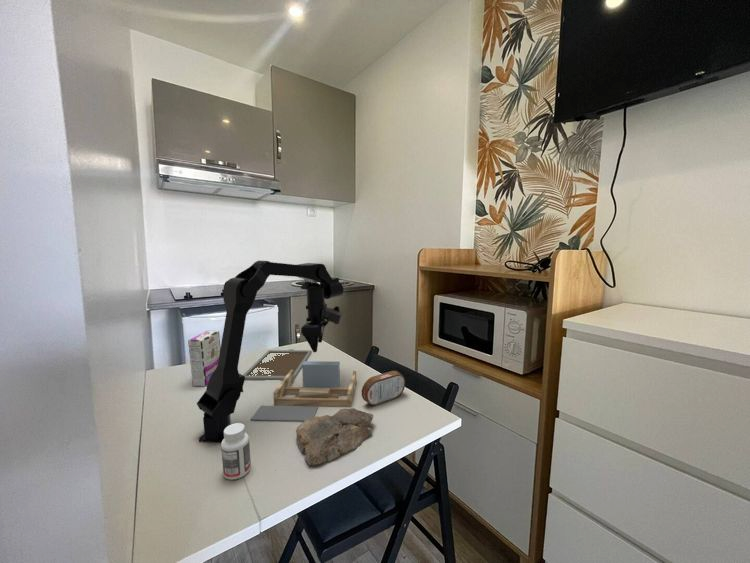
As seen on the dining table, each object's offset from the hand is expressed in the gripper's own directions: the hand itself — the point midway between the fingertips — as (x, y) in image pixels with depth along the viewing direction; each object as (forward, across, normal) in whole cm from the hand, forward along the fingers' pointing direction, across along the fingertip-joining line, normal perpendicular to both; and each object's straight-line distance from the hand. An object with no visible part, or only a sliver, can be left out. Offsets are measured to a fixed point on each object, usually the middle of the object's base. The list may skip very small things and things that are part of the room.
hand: (317, 347), depth 101 cm
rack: (+13, -6, -1) cm, 14 cm away
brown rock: (+14, -28, -10) cm, 33 cm away
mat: (+13, -18, +6) cm, 23 cm away
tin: (+14, -11, -22) cm, 28 cm away
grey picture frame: (+14, +18, +19) cm, 30 cm away
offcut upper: (+12, -10, 0) cm, 16 cm away
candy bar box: (+13, +4, +40) cm, 43 cm away
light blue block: (+14, 0, -1) cm, 14 cm away
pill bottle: (+13, -39, +10) cm, 42 cm away
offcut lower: (+14, -10, -1) cm, 17 cm away
